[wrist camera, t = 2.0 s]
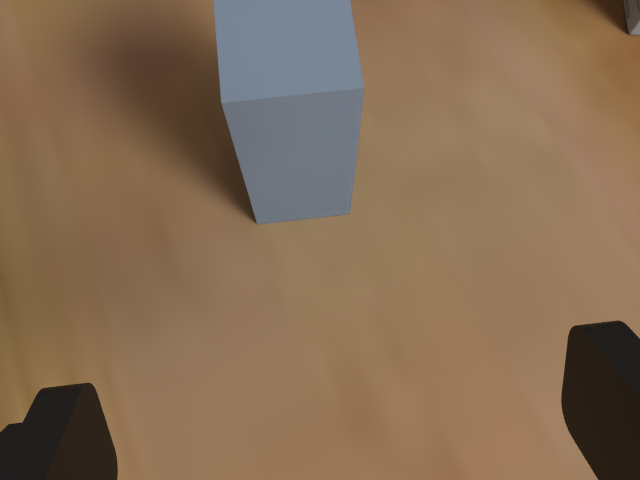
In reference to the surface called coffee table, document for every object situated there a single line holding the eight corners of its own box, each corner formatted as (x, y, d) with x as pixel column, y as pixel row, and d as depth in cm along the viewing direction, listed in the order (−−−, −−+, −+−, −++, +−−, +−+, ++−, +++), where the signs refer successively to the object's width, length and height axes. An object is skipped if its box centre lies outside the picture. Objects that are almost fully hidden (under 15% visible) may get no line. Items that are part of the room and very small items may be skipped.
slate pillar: (257, 224, 30) (221, 103, 19) (249, 141, 31) (212, -14, 21) (349, 214, 30) (364, 87, 19) (337, 131, 31) (345, -27, 21)
